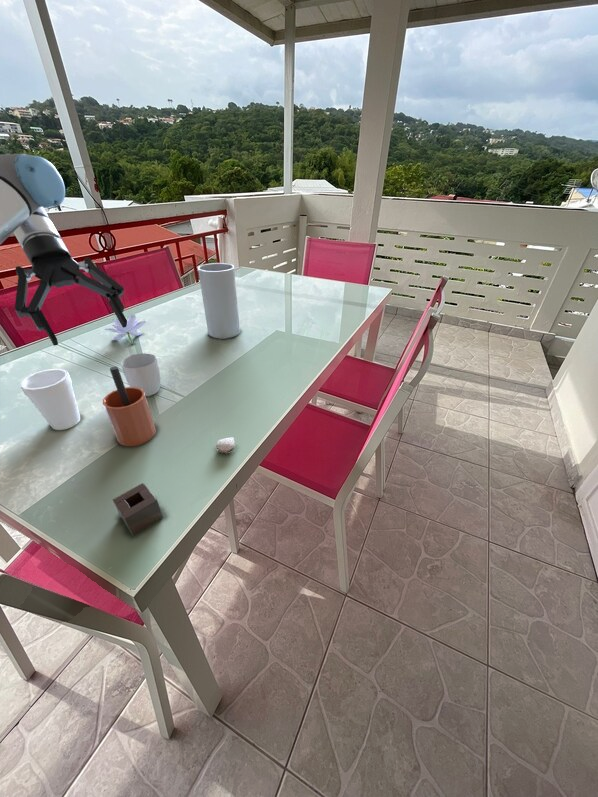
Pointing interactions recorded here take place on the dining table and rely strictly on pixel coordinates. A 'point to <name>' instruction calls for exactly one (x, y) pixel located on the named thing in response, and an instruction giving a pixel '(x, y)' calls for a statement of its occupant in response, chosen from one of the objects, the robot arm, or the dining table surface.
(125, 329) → the water lily
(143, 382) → the mug
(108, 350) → the dining table surface
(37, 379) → the foam cup
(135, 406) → the tumbler
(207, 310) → the cylinder vase
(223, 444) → the white seashell
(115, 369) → the rod
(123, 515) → the holder
